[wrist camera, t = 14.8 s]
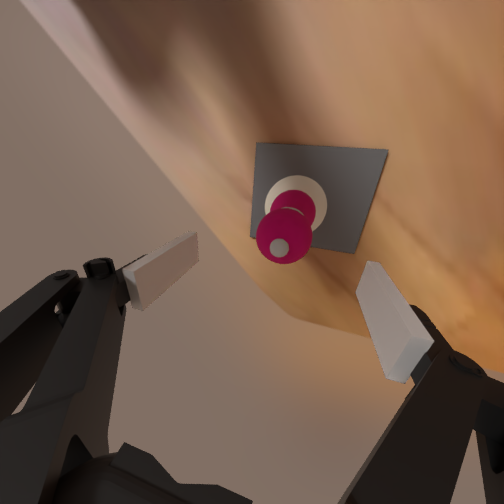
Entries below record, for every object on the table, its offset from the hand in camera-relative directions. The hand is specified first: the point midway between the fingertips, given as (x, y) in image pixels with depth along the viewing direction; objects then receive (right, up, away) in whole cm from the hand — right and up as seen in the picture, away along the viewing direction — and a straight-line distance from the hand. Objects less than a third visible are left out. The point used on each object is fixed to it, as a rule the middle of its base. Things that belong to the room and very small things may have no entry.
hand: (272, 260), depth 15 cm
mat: (+8, +10, +19) cm, 23 cm away
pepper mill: (+6, +9, +20) cm, 23 cm away
